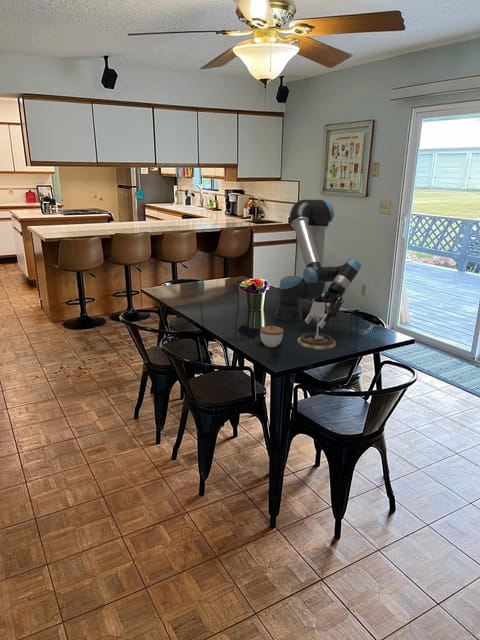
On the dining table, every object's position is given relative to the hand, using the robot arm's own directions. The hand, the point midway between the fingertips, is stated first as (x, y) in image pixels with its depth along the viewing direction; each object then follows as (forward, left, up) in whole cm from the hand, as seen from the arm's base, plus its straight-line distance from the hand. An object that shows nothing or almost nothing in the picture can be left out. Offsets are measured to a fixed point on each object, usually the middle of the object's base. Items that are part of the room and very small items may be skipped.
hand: (313, 324), depth 222 cm
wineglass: (+2, +3, -7) cm, 8 cm away
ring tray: (+2, +3, -10) cm, 10 cm away
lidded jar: (-18, -7, -10) cm, 22 cm away
